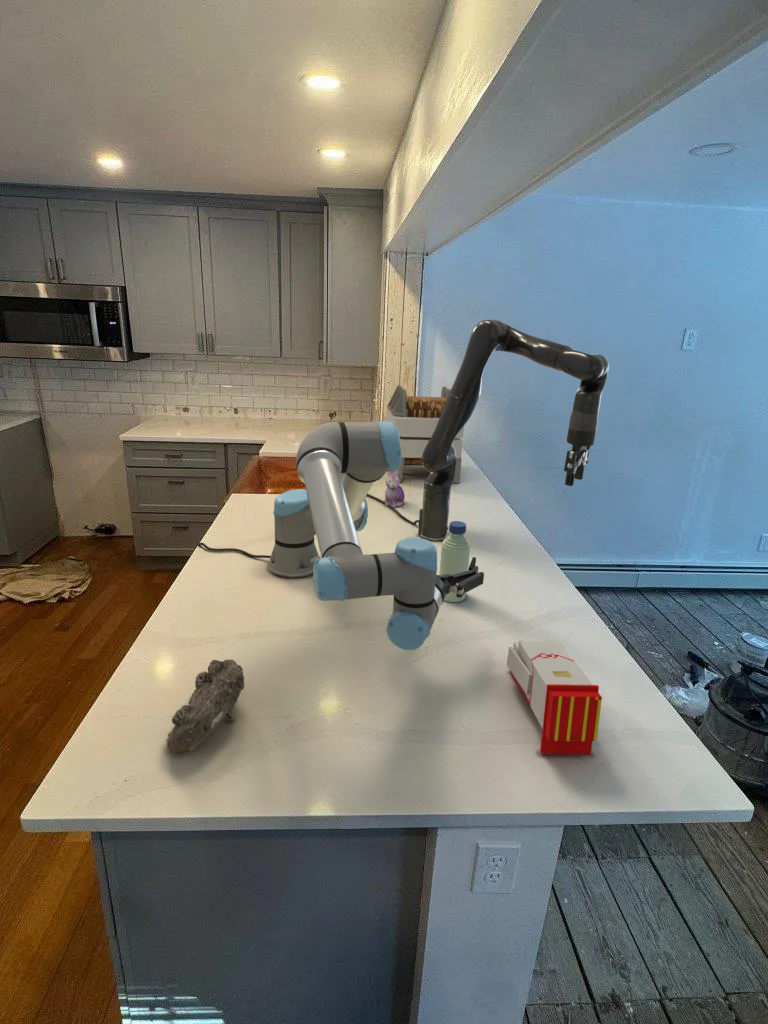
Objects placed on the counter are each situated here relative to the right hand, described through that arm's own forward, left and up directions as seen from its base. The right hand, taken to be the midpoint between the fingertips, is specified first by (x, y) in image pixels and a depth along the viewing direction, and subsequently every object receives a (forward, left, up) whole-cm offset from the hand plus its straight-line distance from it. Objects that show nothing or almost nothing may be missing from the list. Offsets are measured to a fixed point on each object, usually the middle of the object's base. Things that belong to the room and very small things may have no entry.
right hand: (573, 482), depth 165 cm
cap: (-19, -35, -8) cm, 40 cm away
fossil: (-30, -108, -29) cm, 115 cm away
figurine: (-75, +19, -29) cm, 83 cm away
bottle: (-19, -35, -29) cm, 49 cm away
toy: (+19, -64, -29) cm, 73 cm away
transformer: (-92, +65, -29) cm, 116 cm away
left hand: (-12, -53, -10) cm, 55 cm away
